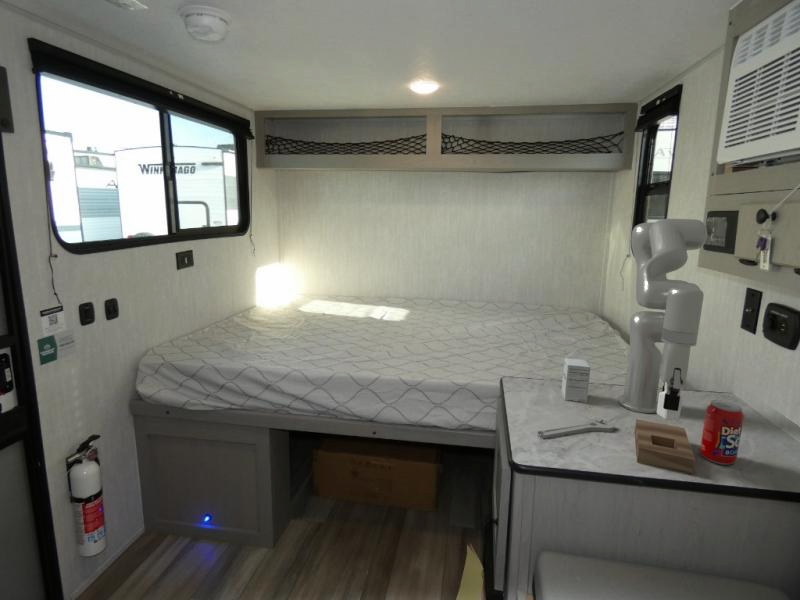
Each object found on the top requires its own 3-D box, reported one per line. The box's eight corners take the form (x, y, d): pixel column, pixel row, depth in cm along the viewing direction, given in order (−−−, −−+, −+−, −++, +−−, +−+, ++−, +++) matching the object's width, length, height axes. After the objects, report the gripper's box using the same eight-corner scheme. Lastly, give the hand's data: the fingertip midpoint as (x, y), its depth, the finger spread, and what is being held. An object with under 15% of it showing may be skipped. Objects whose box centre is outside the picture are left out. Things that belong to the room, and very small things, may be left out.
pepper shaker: (655, 414, 119) (660, 379, 117) (669, 413, 119) (674, 379, 118) (665, 420, 115) (670, 385, 113) (680, 420, 116) (685, 385, 114)
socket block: (634, 432, 132) (636, 419, 131) (682, 441, 127) (684, 428, 127) (637, 462, 116) (638, 447, 115) (692, 474, 111) (694, 459, 111)
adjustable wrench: (540, 441, 127) (540, 435, 127) (528, 430, 133) (528, 424, 133) (617, 432, 133) (618, 426, 132) (603, 422, 139) (603, 416, 139)
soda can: (699, 448, 124) (708, 396, 121) (735, 457, 120) (744, 403, 117) (698, 460, 118) (707, 406, 115) (736, 470, 113) (746, 414, 110)
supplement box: (560, 392, 160) (564, 357, 158) (583, 394, 159) (586, 359, 156) (563, 400, 153) (567, 364, 151) (587, 402, 152) (591, 366, 149)
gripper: (659, 327, 122) (650, 391, 126) (665, 343, 107) (655, 415, 111) (691, 330, 119) (681, 396, 123) (702, 347, 104) (691, 421, 107)
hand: (669, 404), depth 117 cm, fingers closed on pepper shaker, 5 cm apart
